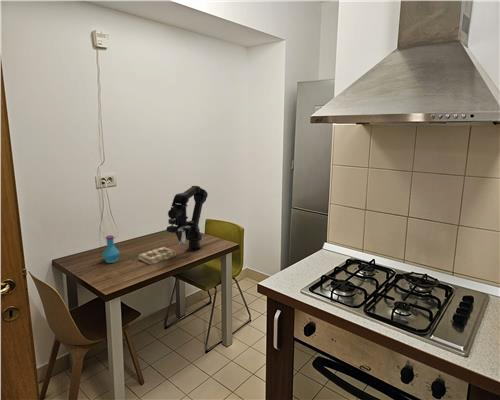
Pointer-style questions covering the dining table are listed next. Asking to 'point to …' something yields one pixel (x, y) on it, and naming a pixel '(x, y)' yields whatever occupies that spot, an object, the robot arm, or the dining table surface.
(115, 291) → the dining table surface
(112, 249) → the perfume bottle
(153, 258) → the frame
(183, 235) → the grey cylinder
